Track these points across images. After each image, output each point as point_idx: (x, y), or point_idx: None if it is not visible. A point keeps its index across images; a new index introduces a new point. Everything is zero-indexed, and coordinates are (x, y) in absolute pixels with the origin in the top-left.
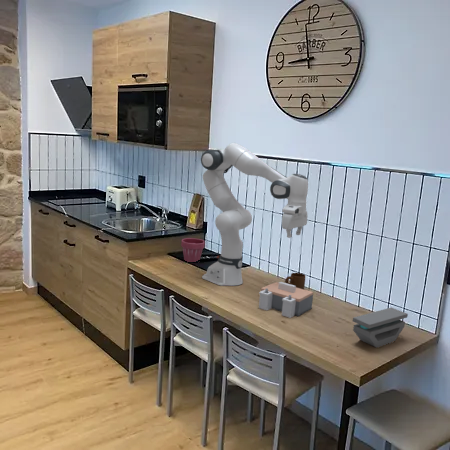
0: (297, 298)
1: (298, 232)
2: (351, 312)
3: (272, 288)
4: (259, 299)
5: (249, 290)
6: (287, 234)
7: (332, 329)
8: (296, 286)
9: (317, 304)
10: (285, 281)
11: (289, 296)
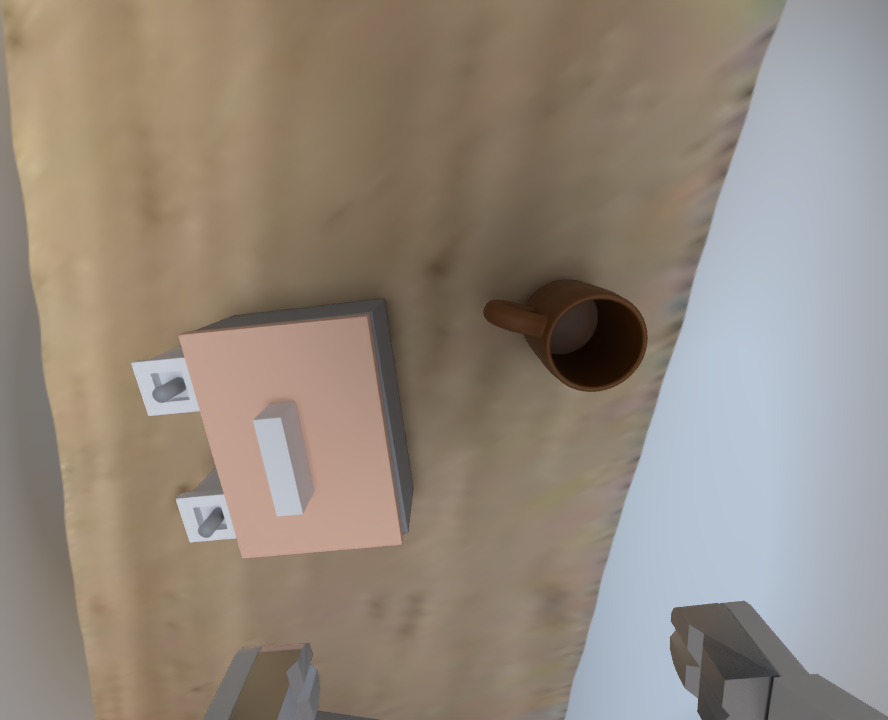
0: (242, 547)
1: (706, 709)
2: (512, 599)
3: (241, 380)
4: (169, 351)
5: (356, 118)
6: (213, 714)
7: (295, 629)
8: (533, 349)
9: (482, 477)
10: (484, 308)
11: (200, 529)
